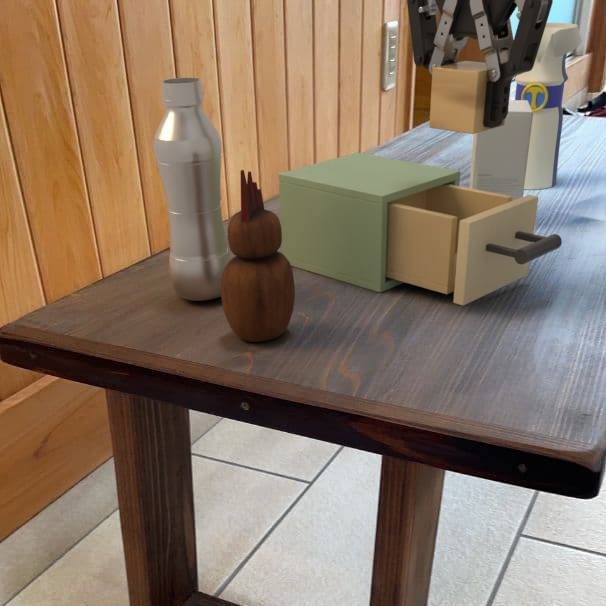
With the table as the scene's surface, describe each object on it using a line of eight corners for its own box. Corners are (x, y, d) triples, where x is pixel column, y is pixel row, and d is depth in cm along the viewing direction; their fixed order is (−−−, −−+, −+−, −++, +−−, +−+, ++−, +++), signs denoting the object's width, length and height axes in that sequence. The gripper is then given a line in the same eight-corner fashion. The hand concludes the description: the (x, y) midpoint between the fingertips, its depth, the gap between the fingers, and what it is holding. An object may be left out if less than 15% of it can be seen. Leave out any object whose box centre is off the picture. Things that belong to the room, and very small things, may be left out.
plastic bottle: (245, 289, 90) (230, 76, 78) (214, 312, 85) (193, 88, 73) (192, 282, 92) (170, 73, 80) (159, 303, 87) (130, 85, 75)
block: (460, 119, 82) (465, 60, 80) (504, 125, 80) (510, 64, 77) (428, 127, 80) (432, 67, 77) (473, 134, 77) (478, 71, 74)
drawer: (568, 285, 86) (581, 204, 81) (504, 317, 79) (514, 232, 75) (425, 248, 96) (429, 176, 92) (358, 275, 90) (359, 198, 85)
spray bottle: (555, 192, 117) (585, -25, 102) (493, 187, 120) (514, -25, 105) (565, 178, 123) (595, -29, 109) (506, 173, 126) (528, -29, 111)
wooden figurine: (258, 354, 76) (247, 178, 67) (213, 339, 79) (197, 168, 71) (307, 331, 80) (303, 161, 72) (262, 317, 84) (253, 152, 75)
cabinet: (453, 262, 95) (460, 170, 89) (380, 292, 88) (382, 196, 82) (356, 237, 104) (356, 152, 98) (282, 263, 96) (278, 173, 91)
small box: (519, 228, 105) (534, 111, 97) (467, 227, 105) (477, 111, 98) (515, 209, 111) (528, 98, 103) (466, 209, 112) (475, 99, 104)
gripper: (588, -110, 67) (556, 125, 77) (442, -103, 76) (430, 108, 86) (536, -109, 63) (509, 139, 73) (387, -102, 71) (382, 120, 81)
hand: (466, 121), depth 79 cm, fingers closed on block, 5 cm apart
